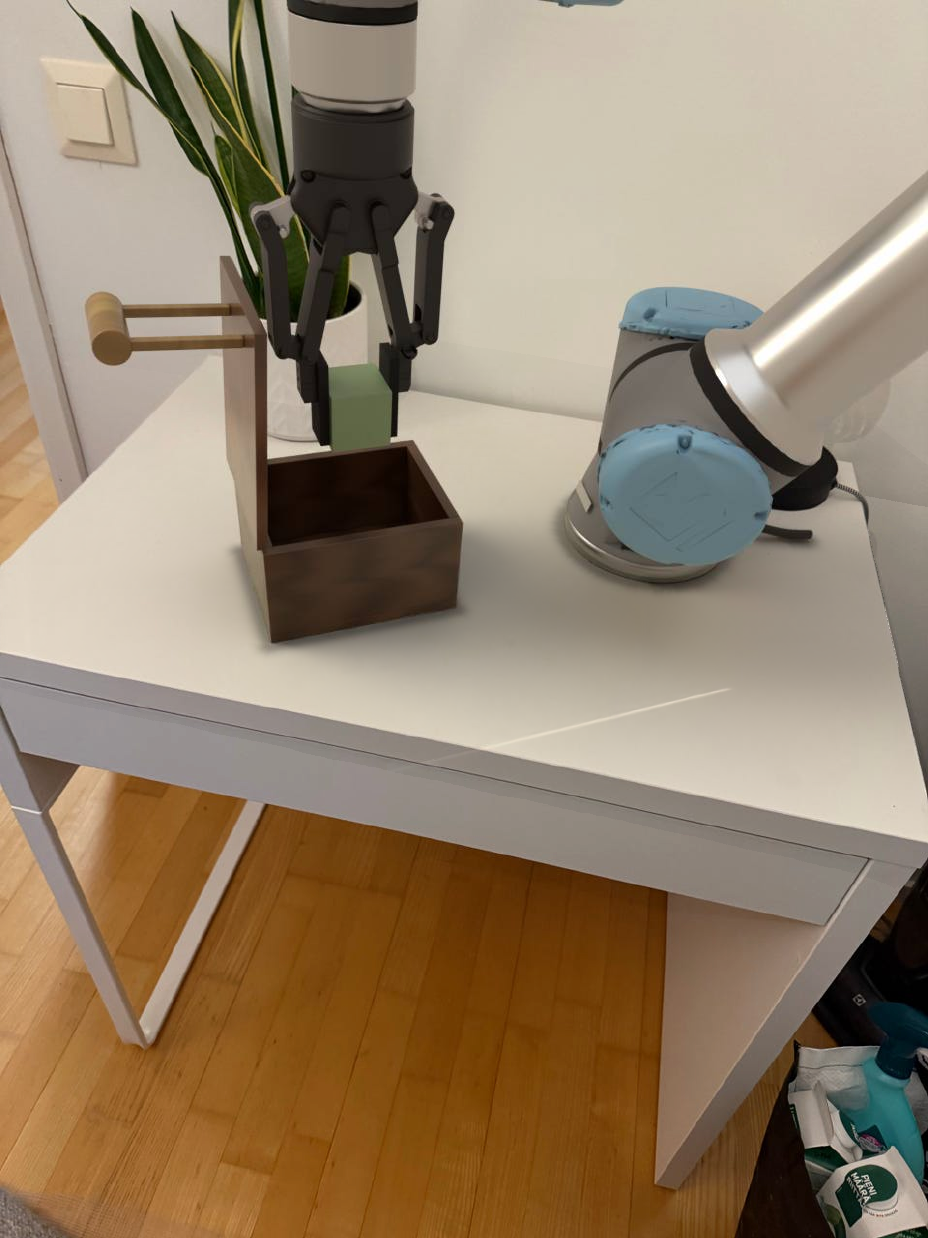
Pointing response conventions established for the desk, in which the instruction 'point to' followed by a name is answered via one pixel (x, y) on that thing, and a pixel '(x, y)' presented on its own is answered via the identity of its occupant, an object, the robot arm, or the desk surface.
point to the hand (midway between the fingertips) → (354, 431)
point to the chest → (353, 541)
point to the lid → (240, 369)
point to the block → (358, 408)
